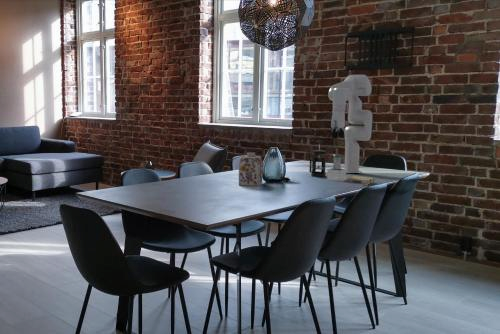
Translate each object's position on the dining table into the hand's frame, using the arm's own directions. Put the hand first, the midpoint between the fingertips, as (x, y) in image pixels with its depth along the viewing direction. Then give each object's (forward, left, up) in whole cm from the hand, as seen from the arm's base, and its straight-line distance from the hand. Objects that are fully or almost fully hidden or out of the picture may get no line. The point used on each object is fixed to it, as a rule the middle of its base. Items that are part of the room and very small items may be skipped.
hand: (337, 138), depth 302 cm
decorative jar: (+43, -34, -26) cm, 60 cm away
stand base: (0, 0, -26) cm, 26 cm away
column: (0, 0, -25) cm, 25 cm away
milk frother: (+19, -28, -26) cm, 43 cm away
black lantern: (-6, -15, -26) cm, 31 cm away
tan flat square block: (0, +15, -26) cm, 30 cm away
